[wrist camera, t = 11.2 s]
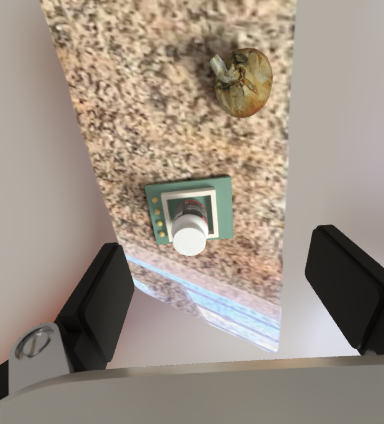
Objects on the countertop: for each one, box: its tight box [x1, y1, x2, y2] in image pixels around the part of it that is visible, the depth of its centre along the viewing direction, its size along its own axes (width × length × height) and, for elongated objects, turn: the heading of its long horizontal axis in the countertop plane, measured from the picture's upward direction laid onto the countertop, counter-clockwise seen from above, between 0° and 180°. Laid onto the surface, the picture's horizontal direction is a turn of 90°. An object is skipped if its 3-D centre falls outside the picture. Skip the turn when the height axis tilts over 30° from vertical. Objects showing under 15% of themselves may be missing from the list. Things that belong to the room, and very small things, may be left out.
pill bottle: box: [171, 199, 208, 256], centre depth 33 cm, size 6×6×10 cm
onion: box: [210, 48, 273, 118], centre depth 27 cm, size 8×8×8 cm
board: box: [144, 176, 233, 245], centre depth 37 cm, size 12×15×3 cm
